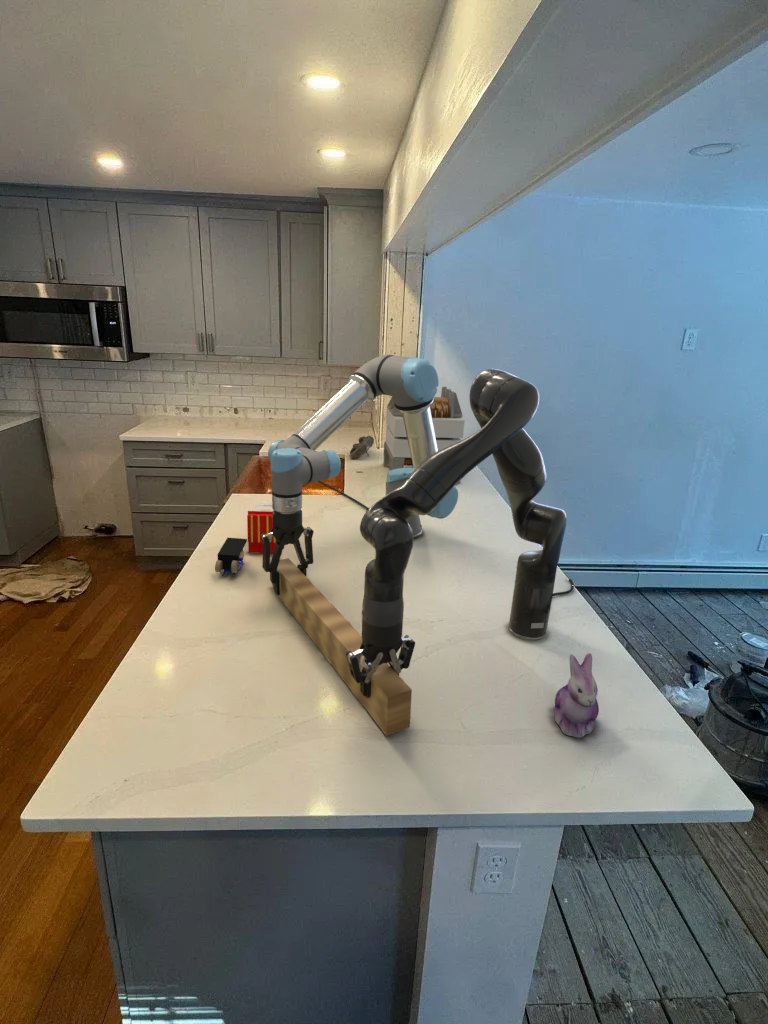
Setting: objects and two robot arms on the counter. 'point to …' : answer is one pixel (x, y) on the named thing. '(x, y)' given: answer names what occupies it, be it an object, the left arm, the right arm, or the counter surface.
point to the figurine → (577, 700)
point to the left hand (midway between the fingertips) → (288, 590)
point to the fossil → (361, 447)
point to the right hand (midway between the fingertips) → (379, 691)
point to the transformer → (444, 424)
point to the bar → (344, 648)
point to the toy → (259, 527)
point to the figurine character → (230, 556)
